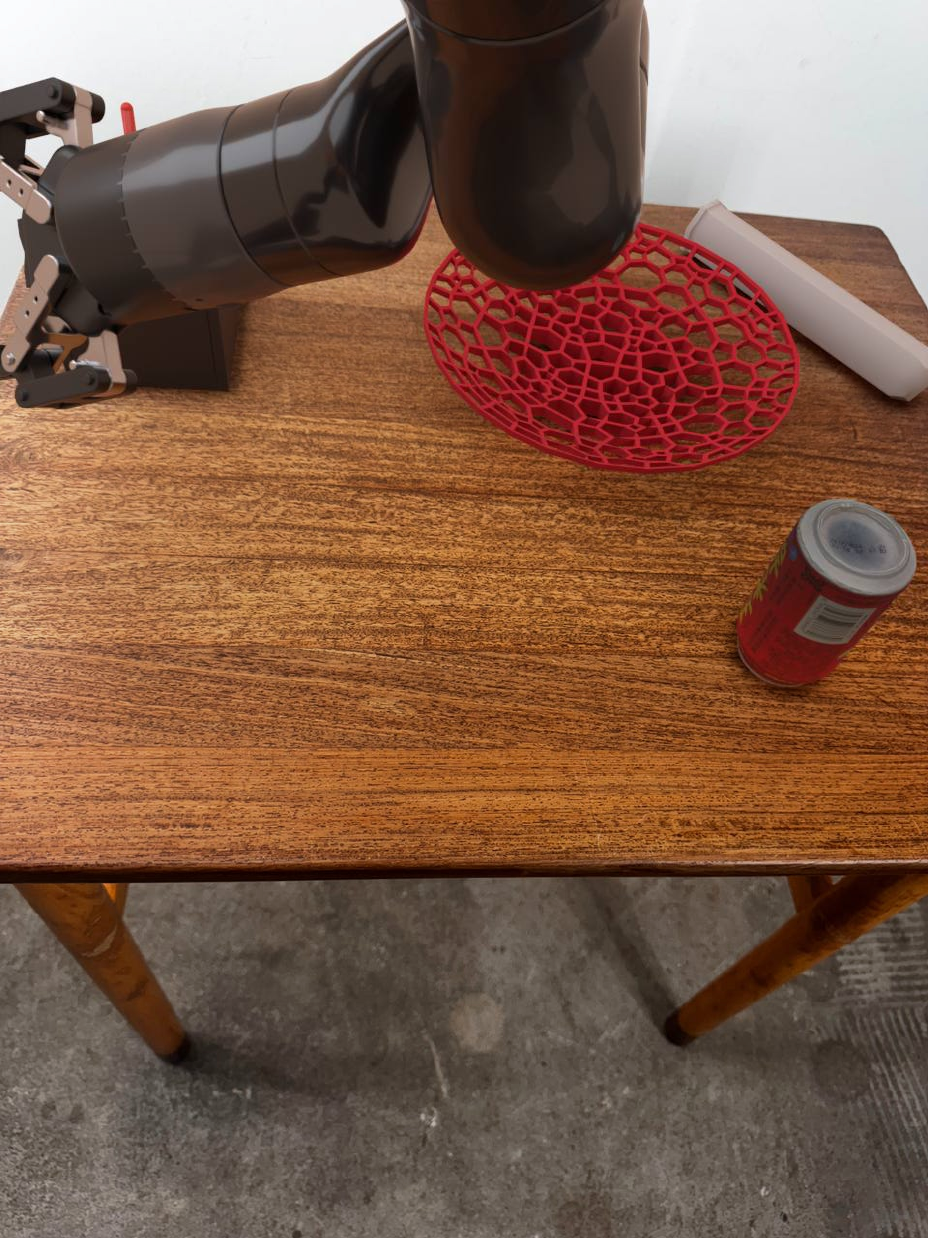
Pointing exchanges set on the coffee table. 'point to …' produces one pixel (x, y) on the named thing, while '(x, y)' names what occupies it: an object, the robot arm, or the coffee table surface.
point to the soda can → (823, 591)
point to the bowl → (616, 361)
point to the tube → (815, 304)
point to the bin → (178, 350)
